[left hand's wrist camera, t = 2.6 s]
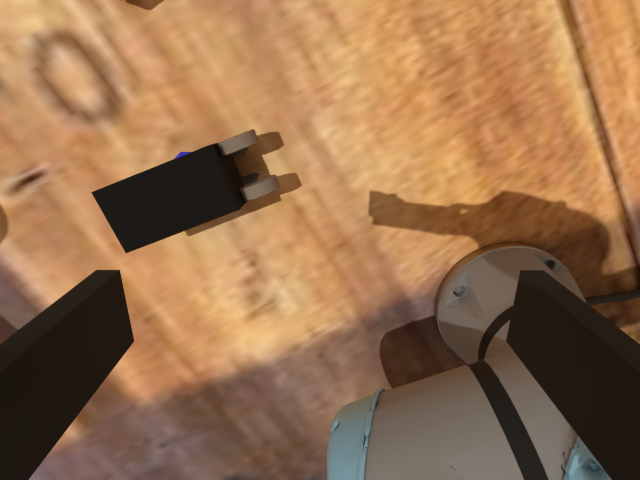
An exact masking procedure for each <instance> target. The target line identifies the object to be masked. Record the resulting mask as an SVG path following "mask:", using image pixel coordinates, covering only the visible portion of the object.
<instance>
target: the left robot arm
mask: <svg viewBox="0 0 640 480" xmlns="http://www.w3.org/2000/svg"><path fill="white" fill-rule="evenodd" d="M637 297H640V288H639V289H636V290H633V291H630V292H626V293H620V294H610V295H601V296H595V297H588V298H584V297H583V295H582V293H581V291H580V289H579V287H578V285H577V284H576V282H575V280H574V278H573V276H572V275H571V273H570V272H569V271H568V269H567V268H566V267H565V266H564V265H563V264H562V263H561V262H560V261H559V260H558V259H556V258H555V257H554V256H552V255H551V254H549V253H548V252H546V251H544V250H543V249H541V248H539V247H536V246H533V245H530V244H526V243H519V242H505V243H498V244H493V245H489V246H486V247H483V248H481V249H479V250H476V251H474V252H472V253H471V254H469V255H467V256H466V257H464V258H463V259H462V260H460V261H459V262H458V263H457V264H456V265H455V266H454V267H453V268H452V269H451V270H450V271H449V272H448V273H447V275H446V276H445V278H444V279H443V281H442V282H441V284H440V286H439V289H438V291H437V294H436V298H435V303H434V317H435V322H436V325H437V328H438V330H439V332H440V334H441V336H442V338H443V340H444V341H445V343H446V344H447V346H448V347H449V348H450V349H451V350H452V351H453V352H454V353H455V354H456V355H457V356H458V357H459V358H461V359H462V360H463V361H465V362H466V363H467V364H468V365H464V364H463V362H462V360H460V359H459V358H458V357H457V356H456V355H455V354H454V353H453V352H452V351H451V350H450V349H449V348H448V347H446V346H445V347H446V349H447V351H449V352H450V353H451V354H452V355H453V356H454V357H455V358H456V359H457V360H458V361H459V362H460V363H461V364H463V365H464V366H461V367H458V368H455V369H452V370H448V371H445V372H442V373H439V374H436V375H433V376H430V377H427V378H424V379H421V380H418V381H415V382H412V383H409V384H406V385H402V386H399V387H396V388H393V389H389V390H384V389H380V390H377V391H376V392H375V394H373V395H370V396H368V397H365V398H362V399H360V400H357V401H354V402H352V403H349V404H347V405H345V406H344V407H343V408H341V409H340V410H339V412H338V413H337V415H336V416H335V418H334V420H333V423H332V426H331V430H330V436H329V441H328V453H327V477H328V480H640V344H639V343H637V342H636V341H635V340H633V339H632V338H631V337H630V336H628V335H627V334H626V333H624V332H623V331H622V330H621V329H619V328H618V327H617V326H615V325H614V324H613V323H611V322H610V321H609V320H608V319H606V318H605V317H604V316H602V315H601V314H600V313H599V312H597V311H596V310H595V309H593V308H592V307H591V306H589V305H592V304H599V303H606V302H616V301H624V300H629V299H633V298H637ZM133 342H134V338H133V333H132V328H131V324H130V319H129V314H128V309H127V304H126V299H125V294H124V289H123V284H122V279H121V274H120V270H96V271H95V272H93V273H92V274H91V275H89V276H88V277H87V278H85V279H84V280H83V281H82V282H80V283H79V284H78V285H76V286H75V287H74V288H73V289H71V290H70V291H69V292H67V293H66V294H65V295H63V296H62V297H61V298H60V299H58V300H57V301H56V302H54V303H53V304H52V305H51V306H49V307H48V308H47V309H45V310H44V311H43V312H41V313H40V314H39V315H38V316H36V317H35V318H34V319H32V320H31V321H30V322H29V323H27V324H26V325H25V326H23V327H22V328H21V329H19V330H18V331H17V332H16V333H14V334H13V335H12V336H10V337H9V338H8V339H7V340H5V341H4V342H3V343H1V344H0V480H29V478H30V477H31V476H32V474H33V473H34V472H35V470H36V469H37V468H38V466H39V465H40V464H41V463H42V461H43V460H44V459H45V457H46V456H47V455H48V453H49V452H50V451H51V449H52V448H53V447H54V445H55V444H56V443H57V442H58V440H59V439H60V438H61V436H62V435H63V434H64V432H65V431H66V430H67V428H68V427H69V426H70V424H71V423H72V422H73V421H74V419H75V418H76V417H77V415H78V414H79V413H80V411H81V410H82V409H83V407H84V406H85V405H86V404H87V402H88V401H89V400H90V398H91V397H92V396H93V394H94V393H95V392H96V390H97V389H98V388H99V386H100V385H101V384H102V383H103V381H104V380H105V379H106V377H107V376H108V375H109V373H110V372H111V371H112V369H113V368H114V367H115V366H116V364H117V363H118V362H119V360H120V359H121V358H122V356H123V355H124V354H125V352H126V351H127V350H128V348H129V347H130V346H131V345H132V343H133Z"/></svg>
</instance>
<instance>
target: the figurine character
mask: <svg viewBox="0 0 640 480" xmlns="http://www.w3.org/2000/svg"><path fill="white" fill-rule="evenodd" d="M258 142H259V140H258V138H257V135H256V133H255V131H254V129H253V130H250V131H247V132H245V133H242V134H239V135H237V136H234V137H232V138H229V139H227V140H224V141H222V142H219V143H216V144H212V145H209V146H206V147H204V148H201V149H199V150H196V151H194V152H180V153H179V154H178V156H177V157H176V158H175V159H174V160H171V161H169V162H166V163H164V164H161V165H159V166H156V167H154V168H151V169H149V170H146V171H144V172H141V173H139V174H136V175H134V176H131V177H129V178H126V179H124V180H121V181H119V182H116V183H114V184H111V185H109V186H106V187H104V188H101V189H99V190H96V191H94V192H92V194H93V196H94V198H95V199H96V201H97V203H98V205H99V207H100V208H101V210H102V212H103V214H104V215H105V217H106V219H107V221H108V222H109V224H110V226H111V228H112V229H113V231H114V233H115V235H116V236H117V238H118V240H119V242H120V244H121V245H122V247H123V249H124V251H125V252H126V253H128V252H131V251H133V250H136V249H138V248H141V247H144V246H146V245H149V244H151V243H154V242H157V241H159V240H162V239H165V238H167V237H170V236H172V235H175V234H178V233H180V232H183V231H185V230H188V229H191V228H193V227H196V226H198V225H201V224H204V223H206V222H209V221H211V220H214V219H217V218H219V217H222V216H224V215H227V214H230V213H232V212H235V211H237V210H240V209H241V207H242V206H243V205H244V204H245V203H246V202H247V201H249V200H253V199H256V198H259V197H261V196H264V195H266V194H268V193H271V192H273V191H275V190H276V189H278V188H279V187H280V185H279V183H278V180H277V178H276V175H271V176H268V177H265V178H262V179H259V180H257V178H258V177H259V175H260V174H258V173H252V174H249V175H247V176H245V177H242V178H241V176H240V173H239V171H238V169H237V167H236V164H235V162H234V160H233V158H235V157H237V156H239V155H242V154H244V153H245V152H246V151H247V149H248V146H250V145H253V144H255V143H258ZM255 180H257V181H255ZM253 181H255V182H253ZM250 182H252V183H250ZM248 183H250V184H248ZM246 184H248V185H246ZM245 185H246V186H245Z"/></svg>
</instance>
